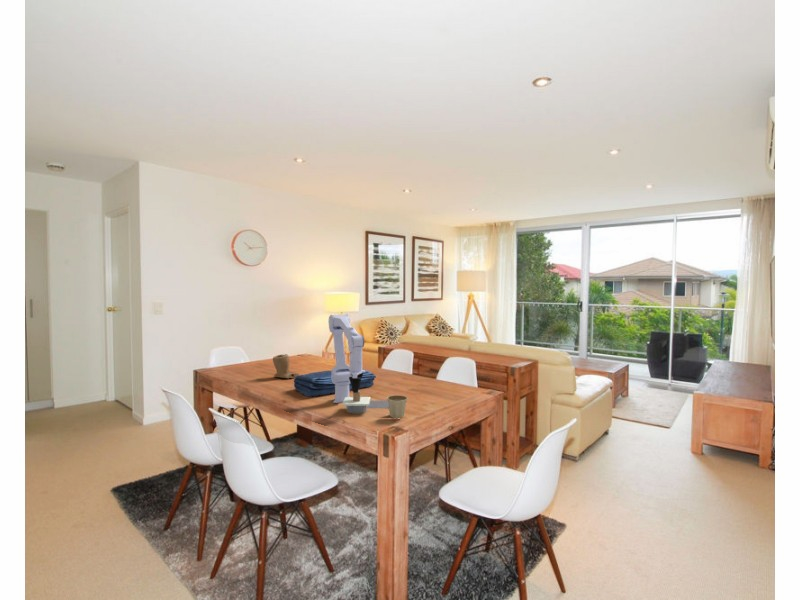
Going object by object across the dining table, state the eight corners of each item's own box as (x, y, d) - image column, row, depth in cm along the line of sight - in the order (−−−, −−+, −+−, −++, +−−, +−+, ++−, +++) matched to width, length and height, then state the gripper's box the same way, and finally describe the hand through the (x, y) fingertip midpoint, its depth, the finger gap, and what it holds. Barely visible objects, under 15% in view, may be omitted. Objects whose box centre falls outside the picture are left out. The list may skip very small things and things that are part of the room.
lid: (345, 398, 203) (345, 388, 203) (370, 398, 203) (370, 388, 203) (342, 405, 191) (342, 394, 191) (368, 405, 191) (368, 394, 191)
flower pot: (407, 413, 194) (407, 394, 194) (408, 420, 184) (408, 400, 184) (386, 413, 194) (386, 395, 193) (386, 420, 184) (386, 400, 184)
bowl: (347, 408, 201) (347, 399, 201) (366, 408, 201) (366, 399, 201) (345, 414, 192) (345, 404, 192) (365, 414, 192) (365, 404, 192)
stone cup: (269, 378, 269) (268, 354, 268) (283, 374, 279) (283, 352, 278) (285, 381, 260) (285, 356, 260) (299, 377, 271) (299, 354, 270)
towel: (377, 386, 247) (377, 369, 246) (310, 399, 220) (310, 379, 220) (354, 379, 265) (354, 363, 265) (291, 390, 238) (291, 372, 238)
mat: (368, 401, 213) (368, 400, 213) (394, 401, 213) (394, 400, 213) (366, 409, 200) (366, 408, 200) (394, 409, 201) (394, 408, 200)
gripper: (363, 364, 189) (363, 394, 189) (366, 358, 203) (366, 386, 204) (347, 364, 189) (347, 394, 189) (351, 358, 203) (351, 386, 204)
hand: (356, 390), depth 197 cm, fingers open, 7 cm apart
